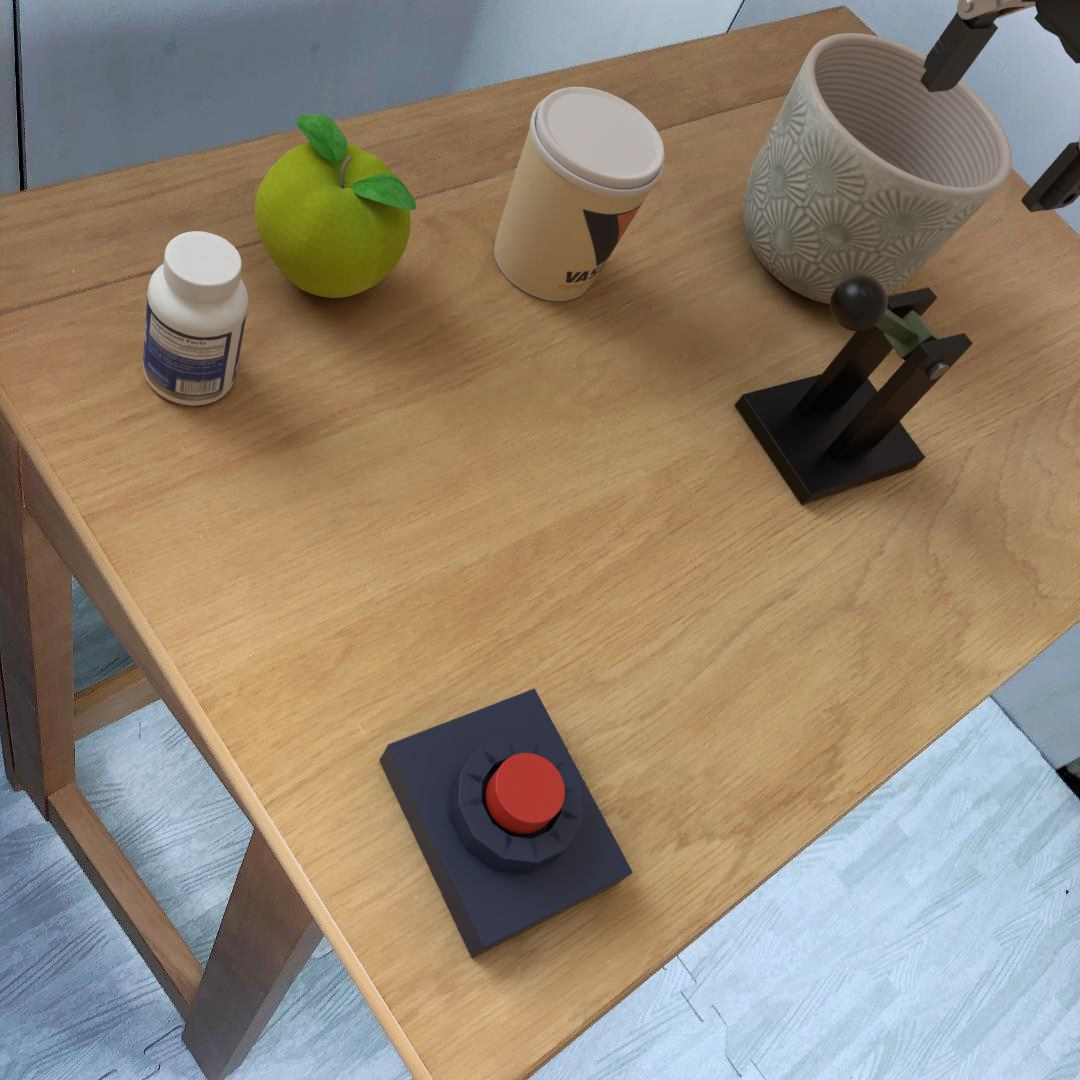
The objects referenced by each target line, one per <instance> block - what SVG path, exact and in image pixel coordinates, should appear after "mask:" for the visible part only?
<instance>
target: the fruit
mask: <svg viewBox="0 0 1080 1080" xmlns="http://www.w3.org/2000/svg"><path fill="white" fill-rule="evenodd" d="M296 126H297V127H298V128H299V130H300V131H301V132H302V134H303V135H304V137H305V138H306V139H307V140H308V142H304V143H301V144H298V145H296V146H295V147H293V148H290V149H289V150H288V151H287V152H285V154H283V155H282V156H281V157H280V158H279V159H277V161H276V162H275V163H274V164H273V165H272V166H271V167H270V168H269V170H268V171H267V172H266V174H265V175H264V177H263V179H262V181H261V183H260V184H259V187H258V189H257V192H256V195H255V201H254V220H255V225H256V230H257V233H258V235H259V238H260V241H261V243H262V245H263V247H264V249H265V251H266V253H267V255H268V256H269V257H270V259H271V260H272V262H273V263H274V265H275V266H276V268H278V270H279V271H280V272H281V273H282V274H283V276H285V277H286V278H287V279H288V280H289V281H290V282H291V283H292V284H293V285H295V286H296V287H297V288H299V289H300V290H302V291H304V292H305V293H308V294H311V295H314V296H318V297H323V298H330V299H340V298H346V297H351V296H354V295H358V294H360V293H362V292H365V291H367V290H369V289H371V288H372V287H374V286H376V285H377V284H378V283H380V282H381V281H383V280H384V279H385V278H386V277H387V276H389V274H390V273H391V272H392V271H393V270H394V268H395V267H396V266H397V264H398V263H399V261H400V260H401V259H402V257H403V255H404V253H405V250H406V248H407V245H408V242H409V239H410V235H411V226H412V225H411V211H414V210H416V209H417V202H416V200H415V199H414V197H413V194H412V193H411V192H410V190H409V189H408V188H407V186H406V184H405V183H403V181H401V180H400V179H399V178H398V177H397V176H395V174H394V172H392V170H391V169H390V168H389V166H388V165H387V164H386V163H385V161H384V160H383V159H382V158H380V157H378V156H376V155H374V154H373V153H370V152H368V151H366V150H364V149H362V148H360V147H359V146H357V145H355V144H353V143H351V142H348V140H347V138H346V136H345V134H344V133H343V131H342V130H341V129H340V127H339V126H338V125H337V124H336V123H335V122H334V120H332V118H330V117H329V116H328V115H327V114H322V113H311V114H309V113H308V114H301V115H300V116H299V117H298V118H297V119H296Z"/></svg>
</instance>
